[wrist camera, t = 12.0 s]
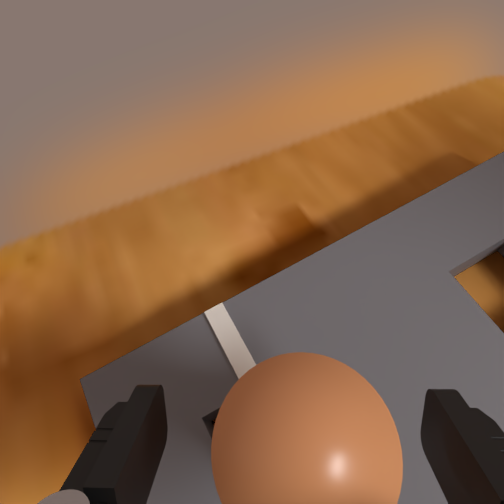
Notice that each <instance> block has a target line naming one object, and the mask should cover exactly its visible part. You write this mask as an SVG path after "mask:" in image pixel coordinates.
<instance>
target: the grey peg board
mask: <svg viewBox="0 0 504 504" xmlns="http://www.w3.org/2000/svg"><path fill="white" fill-rule="evenodd" d="M496 251H498V252H499V253H500V254H501V255H502V256H503V257H504V152H502V153H500V154H498V155H497V156H495V157H493V158H491V159H489V160H487V161H485V162H484V163H482V164H480V165H478V166H476V167H474V168H472V169H471V170H469V171H467V172H465V173H463V174H461V175H459V176H457V177H456V178H454V179H452V180H450V181H448V182H446V183H444V184H443V185H441V186H439V187H437V188H435V189H433V190H431V191H430V192H428V193H426V194H424V195H422V196H420V197H418V198H416V199H415V200H413V201H411V202H409V203H407V204H405V205H403V206H402V207H400V208H398V209H396V210H394V211H392V212H390V213H389V214H387V215H385V216H383V217H381V218H379V219H377V220H376V221H374V222H372V223H370V224H368V225H366V226H364V227H362V228H361V229H359V230H357V231H355V232H353V233H351V234H349V235H348V236H346V237H344V238H342V239H340V240H338V241H336V242H335V243H333V244H331V245H329V246H327V247H325V248H323V249H321V250H320V251H318V252H316V253H314V254H312V255H310V256H308V257H307V258H305V259H303V260H301V261H299V262H297V263H295V264H294V265H292V266H290V267H288V268H286V269H284V270H282V271H281V272H279V273H277V274H275V275H273V276H271V277H269V278H267V279H266V280H264V281H262V282H260V283H258V284H256V285H254V286H253V287H251V288H249V289H247V290H245V291H243V292H241V293H240V294H238V295H236V296H234V297H232V298H230V299H228V300H226V301H225V302H223V303H220V304H218V305H216V306H214V307H212V308H211V309H209V310H207V311H205V312H204V313H202V314H200V315H199V316H197V317H195V318H193V319H191V320H189V321H187V322H186V323H184V324H182V325H180V326H178V327H176V328H174V329H172V330H171V331H169V332H167V333H165V334H163V335H161V336H159V337H158V338H156V339H154V340H152V341H150V342H148V343H146V344H145V345H143V346H141V347H139V348H137V349H135V350H133V351H131V352H130V353H128V354H126V355H124V356H122V357H120V358H118V359H117V360H115V361H113V362H111V363H109V364H107V365H105V366H104V367H102V368H100V369H98V370H96V371H94V372H92V373H91V374H89V375H87V376H85V377H83V378H81V379H80V382H81V385H82V388H83V391H84V394H85V397H86V400H87V403H88V406H89V409H90V412H91V416H92V419H93V422H94V425H95V428H96V427H97V426H98V424H99V422H100V421H101V419H102V417H103V415H104V414H105V413H106V412H107V411H108V410H109V409H111V408H112V407H113V406H114V405H115V404H116V403H117V402H128V400H129V398H130V396H131V394H132V392H133V390H134V388H135V387H136V386H137V385H162V386H163V389H164V397H165V406H166V415H167V424H168V432H167V441H166V445H165V449H164V452H163V455H162V458H161V461H160V464H159V467H158V470H157V473H156V476H155V479H154V482H153V485H152V488H151V491H150V494H149V497H148V500H147V503H146V504H222V503H221V500H220V498H219V495H218V492H217V489H216V486H215V481H214V477H213V471H212V463H211V444H212V435H213V430H214V426H213V424H212V421H213V420H215V419H216V418H217V415H218V412H219V410H220V407H221V405H222V403H223V401H224V399H225V397H226V396H227V394H228V393H229V391H230V390H231V388H232V387H233V386H234V384H235V383H236V382H237V381H238V380H239V379H240V378H241V377H242V376H243V375H244V374H245V373H246V372H247V371H248V370H250V369H251V368H253V367H254V366H256V365H257V364H259V363H261V362H263V361H265V360H267V359H269V358H272V357H275V356H278V355H281V354H287V353H295V352H306V353H315V354H320V355H324V356H327V357H330V358H333V359H336V360H338V361H340V362H342V363H344V364H346V365H347V366H349V367H350V368H352V369H354V370H355V371H356V372H358V373H359V374H360V375H361V376H362V377H364V378H365V379H366V380H367V381H368V382H369V383H370V384H371V385H372V386H373V387H374V389H375V390H376V391H377V393H378V394H379V395H380V397H381V398H382V399H383V401H384V403H385V404H386V406H387V408H388V409H389V411H390V414H391V416H392V418H393V420H394V422H395V425H396V428H397V432H398V435H399V439H400V444H401V449H402V459H403V479H402V485H401V491H400V496H399V499H398V502H397V504H448V502H447V500H446V498H445V496H444V494H443V491H442V489H441V487H440V485H439V483H438V481H437V479H436V477H435V475H434V472H433V470H432V468H431V466H430V464H429V462H428V460H427V458H426V456H425V453H424V451H423V447H422V443H421V435H420V431H421V423H422V416H423V409H424V402H425V395H426V392H427V390H428V389H455V390H457V391H458V392H459V393H460V394H461V396H462V397H463V399H464V400H465V401H466V403H467V404H468V406H469V407H470V408H478V409H480V410H481V411H482V412H484V413H485V414H486V415H488V416H489V417H490V418H492V419H493V420H494V421H495V422H496V423H497V424H498V425H499V427H500V428H501V429H502V431H503V432H504V333H503V332H502V331H501V330H500V328H499V327H498V326H497V325H496V324H495V323H494V322H493V321H492V319H491V318H490V317H489V316H488V315H487V314H486V313H485V312H484V311H483V309H482V308H481V307H480V306H479V305H478V304H477V303H476V302H475V300H474V299H473V298H472V297H471V296H470V295H469V294H468V293H467V291H466V290H465V289H464V288H463V287H462V286H461V285H460V284H459V282H458V281H457V280H456V279H455V278H454V276H456V275H457V274H459V273H461V272H462V271H464V270H466V269H467V268H469V267H471V266H472V265H474V264H476V263H477V262H479V261H481V260H482V259H484V258H486V257H487V256H489V255H491V254H492V253H494V252H496Z"/></svg>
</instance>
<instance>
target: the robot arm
mask: <svg viewBox="0 0 504 504" xmlns="http://www.w3.org/2000/svg"><path fill="white" fill-rule="evenodd" d="M167 432H168V424H167V415H166V406H165V397H164V389H163V386H162V385H137V386H136V387H135V388H134V390H133V392H132V394H131V396H130V398H129V400H128V402H117V403H116V404H115V405H114V406H113V407H112V408H111V409H109V410H108V411H107V412H106V413H105V414H104V415H103V417H102V419H101V421H100V422H99V424H98V426H97V427H96V431H94V433H93V434H92V436H91V438H90V439H89V443H87V445H86V446H85V448H84V450H83V451H82V453H81V455H80V457H79V458H78V460H77V462H76V463H75V465H74V467H73V469H72V470H71V472H70V474H69V475H68V477H67V479H66V481H65V482H64V484H63V486H62V487H61V489H60V491H59V492H56V493H53V494H51V495H49V496H48V497H46V498H44V499H43V500H41V501H40V502H39V503H38V504H146V503H147V500H148V497H149V494H150V491H151V488H152V485H153V482H154V479H155V476H156V473H157V470H158V467H159V464H160V461H161V458H162V455H163V452H164V449H165V445H166V441H167ZM420 435H421V443H422V447H423V451H424V453H425V456H426V458H427V460H428V462H429V464H430V466H431V468H432V470H433V472H434V475H435V477H436V479H437V481H438V483H439V485H440V487H441V489H442V491H443V494H444V496H445V498H446V500H447V502H448V504H504V432H503V431H502V429H501V428H500V427H499V425H498V424H497V423H496V422H495V421H494V420H493V419H492V418H490V417H489V416H488V415H486V414H485V413H484V412H482V411H481V410H480V409H478V408H470V407H469V406H468V404H467V403H466V401H465V400H464V399H463V397H462V396H461V394H460V393H459V392H458V391H457V390H455V389H428V390H427V392H426V395H425V402H424V409H423V416H422V423H421V431H420Z"/></svg>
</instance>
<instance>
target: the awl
mask: <svg viewBox="0 0 504 504" xmlns="http://www.w3.org/2000/svg"><path fill="white" fill-rule="evenodd" d="M211 463H212V471H213V477H214V481H215V486H216V489H217V492H218V495H219V498H220V500H221V503H222V504H397V502H398V499H399V496H400V491H401V485H402V479H403V459H402V449H401V444H400V439H399V435H398V432H397V428H396V425H395V422H394V420H393V418H392V416H391V414H390V411H389V409H388V408H387V406H386V404H385V403H384V401H383V399H382V398H381V397H380V395H379V394H378V393H377V391H376V390H375V389H374V387H373V386H372V385H371V384H370V383H369V382H368V381H367V380H366V379H365V378H364V377H362V376H361V375H360V374H359V373H358V372H356V371H355V370H354V369H352V368H350V367H349V366H347V365H346V364H344V363H342V362H340V361H338V360H336V359H333V358H330V357H327V356H324V355H320V354H315V353H306V352H295V353H287V354H281V355H278V356H275V357H272V358H269V359H267V360H265V361H263V362H261V363H259V364H257V365H256V366H254V367H253V368H251V369H250V370H248V371H247V372H246V373H245V374H244V375H243V376H242V377H241V378H240V379H239V380H238V381H237V382H236V383H235V384H234V386H233V387H232V388H231V390H230V391H229V393H228V394H227V396H226V397H225V399H224V401H223V403H222V405H221V407H220V410H219V412H218V415H217V418H216V421H215V425H214V430H213V435H212V444H211Z"/></svg>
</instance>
